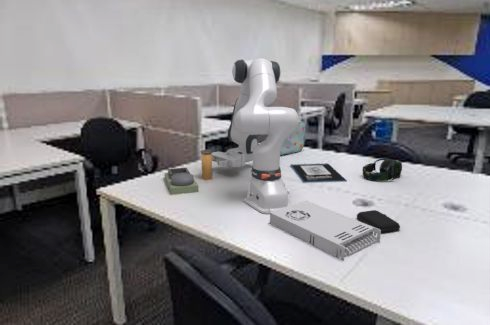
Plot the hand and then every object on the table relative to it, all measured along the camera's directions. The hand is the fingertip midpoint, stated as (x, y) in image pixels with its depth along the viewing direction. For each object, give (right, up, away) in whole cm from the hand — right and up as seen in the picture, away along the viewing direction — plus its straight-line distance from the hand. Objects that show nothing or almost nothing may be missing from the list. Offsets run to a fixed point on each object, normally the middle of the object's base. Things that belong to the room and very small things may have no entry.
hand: (212, 161), depth 188 cm
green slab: (-14, -11, -10) cm, 20 cm away
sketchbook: (+53, -7, +9) cm, 54 cm away
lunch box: (+42, +6, +51) cm, 66 cm away
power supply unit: (+43, -25, -57) cm, 76 cm away
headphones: (+85, -8, +2) cm, 85 cm away
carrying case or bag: (+64, -23, -51) cm, 85 cm away
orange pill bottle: (-3, -8, 0) cm, 9 cm away
